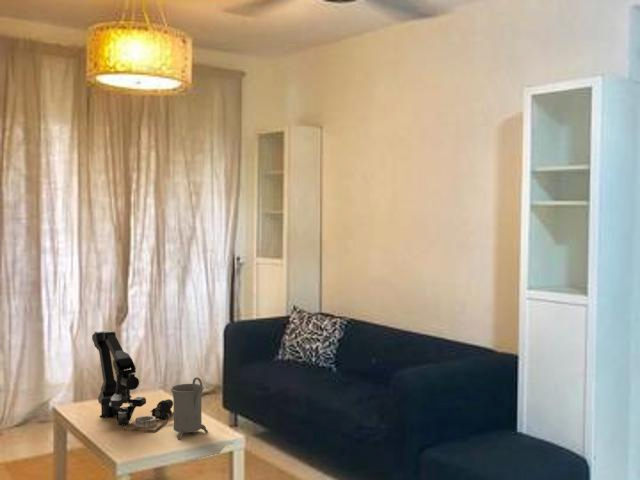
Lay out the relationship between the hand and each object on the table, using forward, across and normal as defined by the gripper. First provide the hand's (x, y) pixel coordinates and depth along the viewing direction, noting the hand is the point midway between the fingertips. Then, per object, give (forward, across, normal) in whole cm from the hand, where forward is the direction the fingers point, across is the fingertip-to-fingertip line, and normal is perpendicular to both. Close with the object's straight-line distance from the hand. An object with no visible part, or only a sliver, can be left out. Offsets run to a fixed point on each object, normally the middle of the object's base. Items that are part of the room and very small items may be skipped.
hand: (123, 420), depth 293 cm
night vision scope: (+2, +13, +12) cm, 18 cm away
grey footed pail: (+2, +33, -9) cm, 34 cm away
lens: (+2, 0, 0) cm, 2 cm away
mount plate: (+2, +11, -2) cm, 11 cm away
